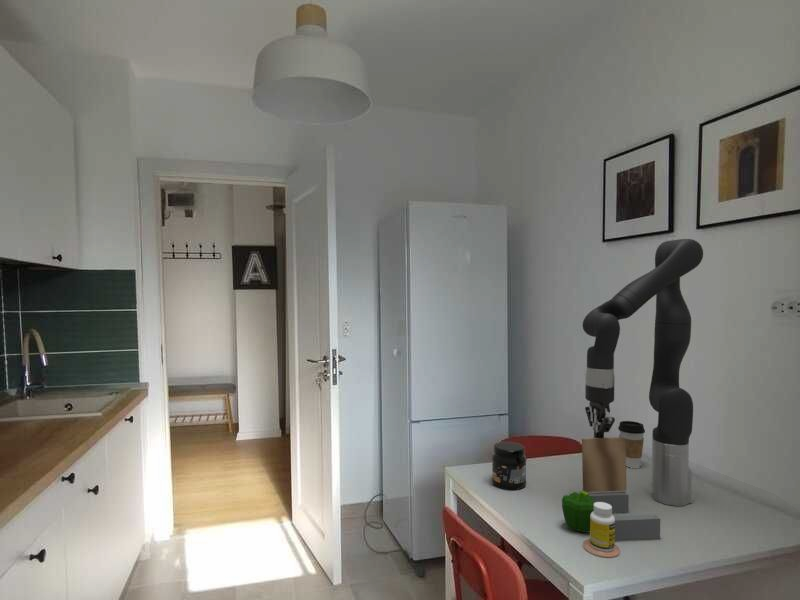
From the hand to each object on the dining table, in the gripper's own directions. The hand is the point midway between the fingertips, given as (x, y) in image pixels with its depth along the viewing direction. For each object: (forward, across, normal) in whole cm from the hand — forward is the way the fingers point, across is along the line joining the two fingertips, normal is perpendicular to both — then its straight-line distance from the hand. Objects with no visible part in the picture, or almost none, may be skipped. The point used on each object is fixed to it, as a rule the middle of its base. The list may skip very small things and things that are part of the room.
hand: (598, 444), depth 137 cm
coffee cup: (+18, -29, +26) cm, 43 cm away
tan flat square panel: (+4, +4, 0) cm, 6 cm away
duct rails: (+17, +11, 0) cm, 20 cm away
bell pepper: (+17, +12, -11) cm, 24 cm away
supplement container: (+18, -17, -20) cm, 32 cm away
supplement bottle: (+17, +22, -10) cm, 30 cm away
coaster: (+17, +22, -10) cm, 30 cm away
